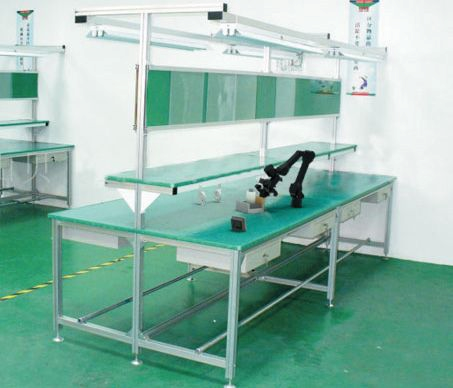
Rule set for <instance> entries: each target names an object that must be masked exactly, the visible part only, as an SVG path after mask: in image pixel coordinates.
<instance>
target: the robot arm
mask: <svg viewBox="0 0 453 388" xmlns="http://www.w3.org/2000/svg"><path fill="white" fill-rule="evenodd" d="M315 158H316V152H315V151H314V150H309V149H305V150H299V149H297V150H295V152H294V153H293V154H292V155H291V156H290V157H289V158H288V159H287V160H286V161H285V162H283V163H281V164H279V165H278V166H277V167H276V168H275V167H274V165H273V164H271V163H270V164H269V165H266V166H264V167H263V172H264V173H265V175H266V176H267V177H268V178H262V177H260V178H259V179H258V183H256V184H255V185H254V188H255V189H256V190H257V192H259V194H258V197H262V198H264V199H266V198H268V197H271V194H272V196H273V197H278V195H279V192H278V191H277V189H276V188H277V185H278V183H279V182H283V177H286V176H287V175H288V174H289V172H290V169H291V168H292V167H293V166H294V165H295V164H296V162H298V161H299V160H300V159H301V160H302V161H301V165H300V167H299V170H298V172H297V175H296V178H295V181H294V182H291V183H290V185H289V187H288V192H289V196H290V197H291V199H290V207H293V208H303V207H304V206H303V199H305V194H304V192H303V189H304V188H303V182H304V180H305V177H306V174H307V171H308V169H309V166H310V165H311V163H312V162H314V160H315Z"/></svg>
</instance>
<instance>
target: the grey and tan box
mask: <svg viewBox="0 0 453 388" xmlns="http://www.w3.org/2000/svg"><path fill="white" fill-rule="evenodd" d="M241 201H242V202H245V203H246V200H244V201H243V200H241ZM264 206H265V198H262V197H259V195H256V198H255V204H250V208H249V209H255V208H263V209H262V211H264Z"/></svg>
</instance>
